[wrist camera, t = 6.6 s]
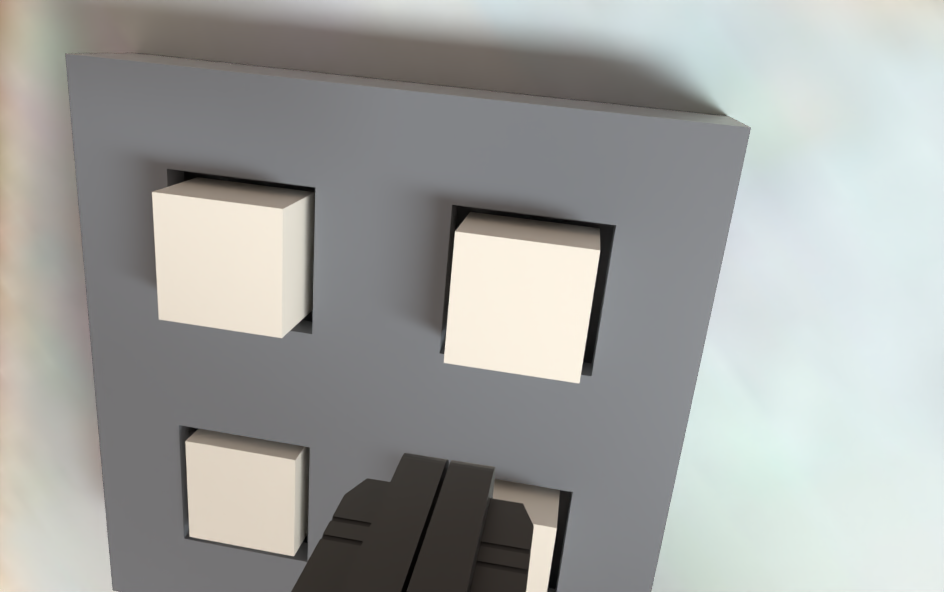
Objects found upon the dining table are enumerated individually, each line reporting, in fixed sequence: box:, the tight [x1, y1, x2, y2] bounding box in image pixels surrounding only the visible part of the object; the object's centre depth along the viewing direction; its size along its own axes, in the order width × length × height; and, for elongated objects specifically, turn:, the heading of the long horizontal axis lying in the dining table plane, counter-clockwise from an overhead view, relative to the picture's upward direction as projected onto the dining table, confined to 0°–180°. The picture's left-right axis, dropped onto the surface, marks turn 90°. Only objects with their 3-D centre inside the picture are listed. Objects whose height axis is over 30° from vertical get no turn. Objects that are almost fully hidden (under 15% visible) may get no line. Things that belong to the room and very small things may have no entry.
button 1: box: [493, 479, 560, 592], centre depth 25 cm, size 4×4×3 cm
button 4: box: [152, 177, 315, 338], centre depth 23 cm, size 4×4×3 cm
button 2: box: [185, 429, 310, 556], centre depth 27 cm, size 4×4×3 cm
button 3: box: [444, 212, 600, 383], centre depth 22 cm, size 4×4×3 cm
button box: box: [65, 53, 751, 592], centre depth 26 cm, size 20×20×4 cm
